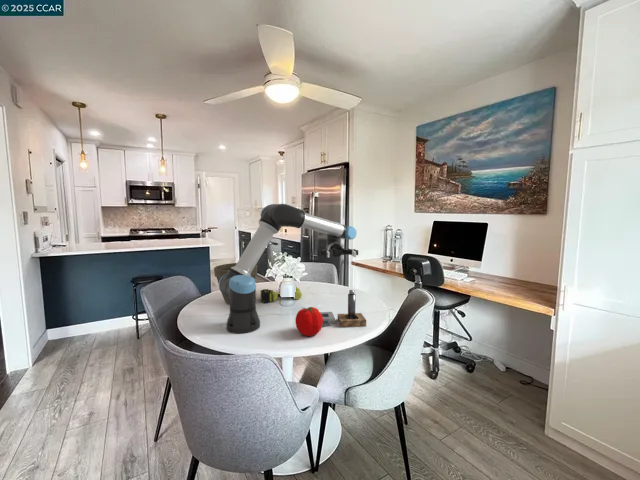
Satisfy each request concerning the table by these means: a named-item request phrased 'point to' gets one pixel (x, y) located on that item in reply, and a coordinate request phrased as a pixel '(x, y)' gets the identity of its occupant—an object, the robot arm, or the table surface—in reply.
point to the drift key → (325, 325)
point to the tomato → (309, 321)
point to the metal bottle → (351, 304)
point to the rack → (351, 320)
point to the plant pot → (224, 270)
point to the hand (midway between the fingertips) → (342, 254)
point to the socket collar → (328, 317)
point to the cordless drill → (276, 295)
